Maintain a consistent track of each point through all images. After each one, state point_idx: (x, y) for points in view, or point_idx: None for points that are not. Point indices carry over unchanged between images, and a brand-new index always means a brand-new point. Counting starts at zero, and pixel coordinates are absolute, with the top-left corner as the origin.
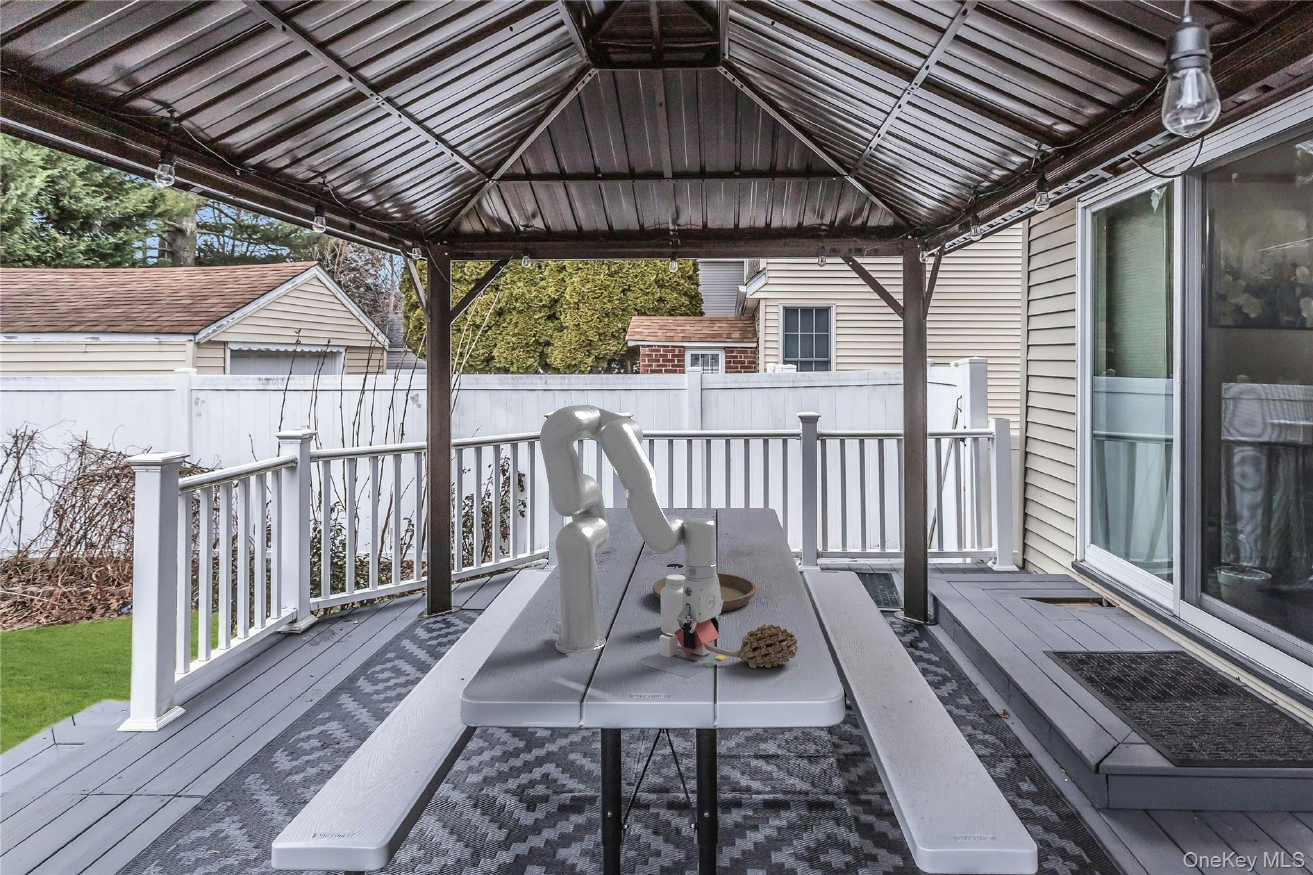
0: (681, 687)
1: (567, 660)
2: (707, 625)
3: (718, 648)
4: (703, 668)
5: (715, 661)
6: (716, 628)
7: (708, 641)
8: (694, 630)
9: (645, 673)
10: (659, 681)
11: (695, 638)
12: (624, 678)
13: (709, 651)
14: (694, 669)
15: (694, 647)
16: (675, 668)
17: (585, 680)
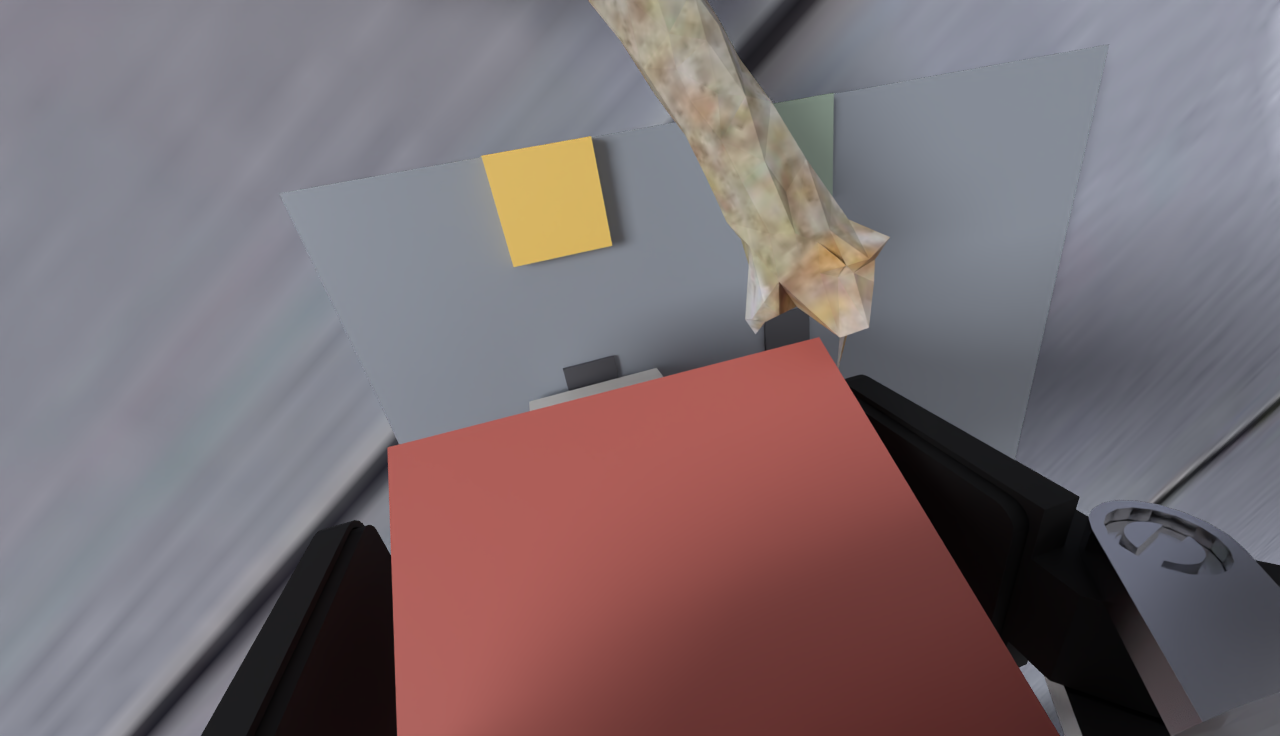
0: (1157, 27)
1: (1037, 682)
2: (591, 717)
3: (735, 81)
4: (870, 123)
5: (650, 181)
6: (310, 658)
7: (695, 377)
8: (958, 595)
9: (1033, 405)
10: (1108, 247)
11: (941, 444)
12: (1127, 413)
13: (548, 400)
14: (926, 174)
15: (872, 379)
16: (981, 302)
17: (1191, 489)
